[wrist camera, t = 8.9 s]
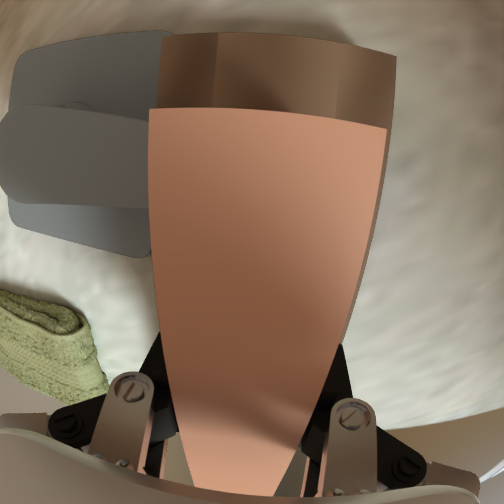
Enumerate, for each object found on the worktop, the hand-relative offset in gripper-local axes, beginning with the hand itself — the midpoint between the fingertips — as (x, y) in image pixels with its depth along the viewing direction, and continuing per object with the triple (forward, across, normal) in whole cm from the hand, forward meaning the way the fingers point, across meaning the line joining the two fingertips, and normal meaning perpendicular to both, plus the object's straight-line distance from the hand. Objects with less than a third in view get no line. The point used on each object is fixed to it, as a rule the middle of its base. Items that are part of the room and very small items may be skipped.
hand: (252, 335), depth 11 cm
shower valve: (+6, +10, -6) cm, 14 cm away
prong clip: (+4, 0, 0) cm, 4 cm away
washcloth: (+6, +21, +12) cm, 24 cm away
